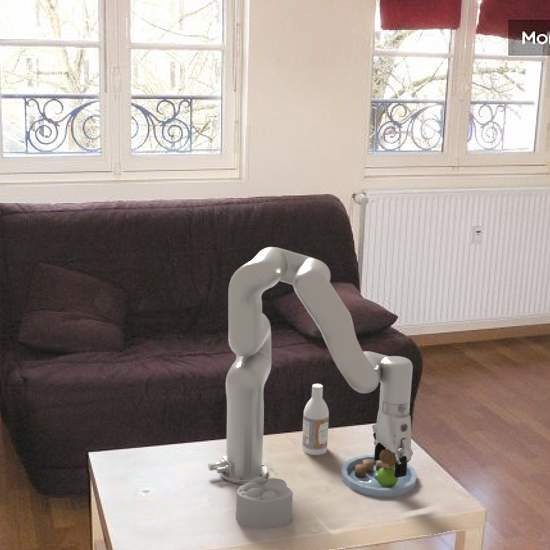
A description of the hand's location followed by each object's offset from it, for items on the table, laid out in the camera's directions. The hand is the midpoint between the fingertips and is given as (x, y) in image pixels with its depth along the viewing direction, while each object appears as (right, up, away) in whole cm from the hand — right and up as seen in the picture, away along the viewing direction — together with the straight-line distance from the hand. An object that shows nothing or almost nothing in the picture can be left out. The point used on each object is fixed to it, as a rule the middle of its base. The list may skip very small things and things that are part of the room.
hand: (389, 467), depth 225 cm
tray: (-2, -5, +6) cm, 8 cm away
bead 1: (-7, -3, +7) cm, 10 cm away
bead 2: (-5, -3, +10) cm, 11 cm away
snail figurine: (0, -5, +1) cm, 5 cm away
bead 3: (-1, -3, +10) cm, 10 cm away
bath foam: (-18, 0, +21) cm, 28 cm away
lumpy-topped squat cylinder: (-32, -9, -13) cm, 36 cm away
